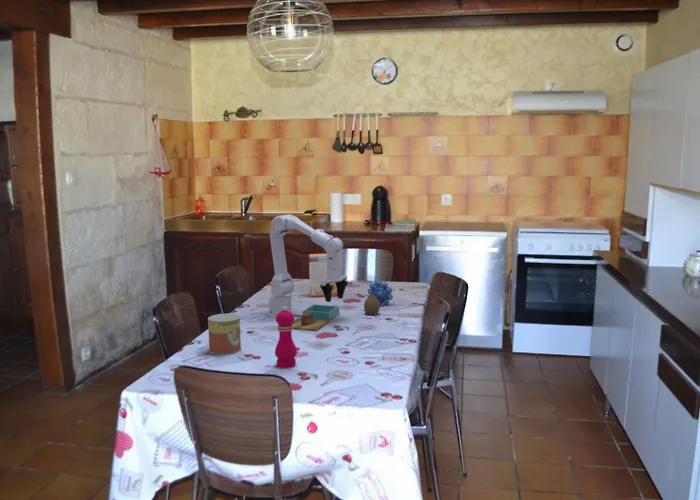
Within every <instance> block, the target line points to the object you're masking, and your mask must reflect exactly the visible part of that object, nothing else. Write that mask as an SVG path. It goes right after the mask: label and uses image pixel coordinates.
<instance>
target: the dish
mask: <svg viewBox="0 0 700 500" xmlns="http://www.w3.org/2000/svg"><path fill="white" fill-rule="evenodd" d="M306 312H310V313H313V319H317V320H329V321H330V322H331V321H332V320H333V319H334V318H336V317H337V316H339V315H340V306H339V305H327V304H311V305H310V306H308V307H306V308H305V309H303V310H302V314H304V313H306Z"/></svg>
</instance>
